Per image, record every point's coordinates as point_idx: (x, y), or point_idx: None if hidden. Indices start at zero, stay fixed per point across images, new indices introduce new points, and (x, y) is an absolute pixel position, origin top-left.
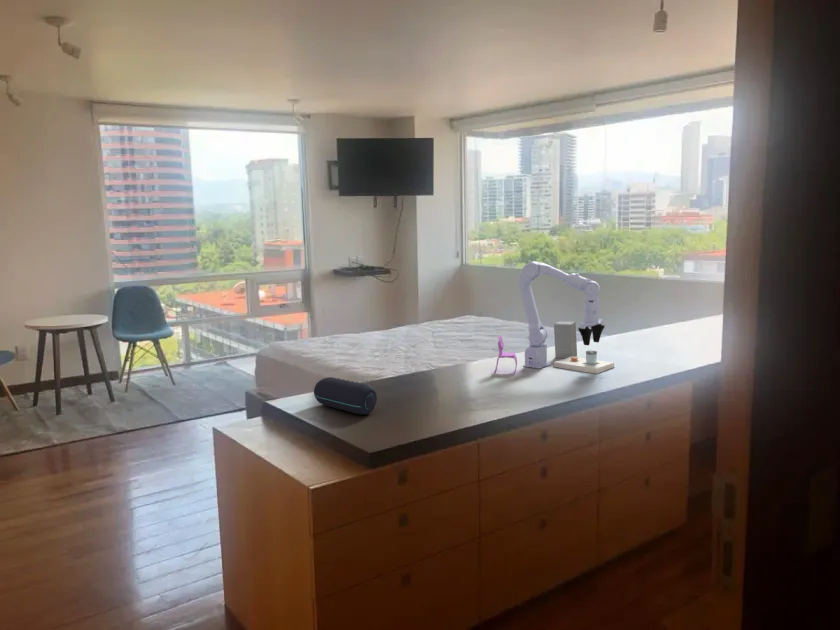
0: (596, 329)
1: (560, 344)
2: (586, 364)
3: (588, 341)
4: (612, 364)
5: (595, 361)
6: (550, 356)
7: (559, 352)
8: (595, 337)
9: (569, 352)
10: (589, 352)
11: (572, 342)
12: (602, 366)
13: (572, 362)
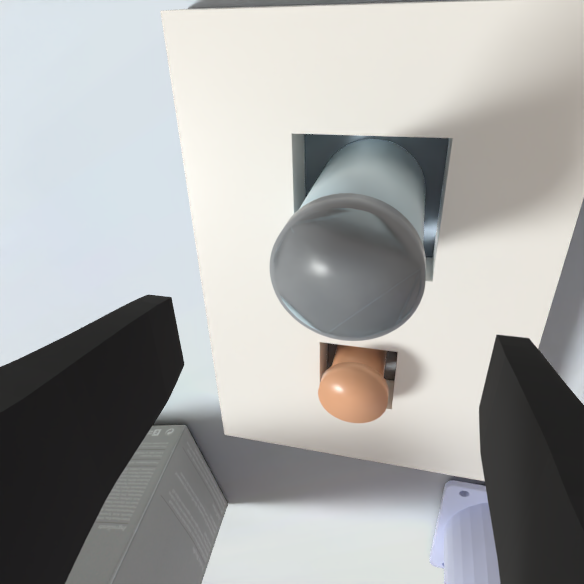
0: (5, 536)
1: (182, 573)
2: (445, 229)
3: (567, 392)
4: (206, 9)
5: (373, 163)
6: (223, 527)
7: (208, 519)
8: (135, 396)
9: (178, 474)
10: (419, 274)
11: (121, 533)
12: (451, 8)
13: (429, 368)
